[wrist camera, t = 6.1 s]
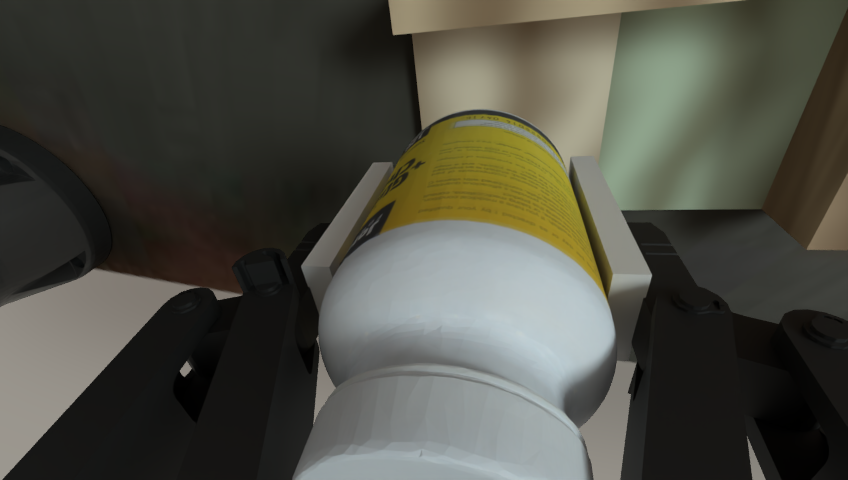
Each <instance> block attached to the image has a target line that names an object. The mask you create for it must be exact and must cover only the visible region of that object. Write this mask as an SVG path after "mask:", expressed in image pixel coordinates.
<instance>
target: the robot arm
mask: <svg viewBox="0 0 848 480" xmlns="http://www.w3.org/2000/svg"><path fill="white" fill-rule="evenodd" d="M392 172H393V165H392V162H383V163H373V164H372V165H371V167H370V168H369V170H368V171H367V173H366V174H365V175H364V177H363V178H362V180H361V181H360V183H359V184H358V185H357V187H356V188H355V190H354V191H353V193H352V194H351V195H350V197H349V198H348V200H347V201H346V203H345V204H344V205H343V207H342V208H341V210H340V211H339V213H338V214H337V215H336V217H335V218H334V220H333V221H332V222H331V223H321V224H319V225H318V226H316V227H315V228H313V229H312V230H310V231H309V232H308V233H307V234H306V236H305V237H304V238H303V240H302V243H300V244H299V245H298V246H297V248H296V251H293V253H292V254H291V255H290V257H289V258H288V259H287V258H286V256H285V253H284V252H283V251H281V250H280V249H275V248H264V249H260V250H256V251H253V252H251V253H249V254H247V255H244V256H243V257H242V258H240V259H239V260H238V261H236V262H235V264H234V265H233V267H232V269H233V272H234V274H235V276H236V278H237V280H238V282H239V284H240V286H241V288H242V291H243V295H242V296H238V297H233V298H228V299H223V300H217V299H216V297H215V295H214V293H213V291H211V290H210V289H209V288H194V289H189V290H187V291H183V292H181V293H179V294H178V295H176V296H174V297H172V298H171V299H170V300H168V301H167V302H166V303H165V304H164V305H163V306H162V307H161V308H160V309H159V310H158V311H157V312H156V313H155V314H154V316H153V317H152V318H151V319H150V320H149V321H148V322H147V323H146V324H145V325H144V326H143V327H142V329H141V330H140V331H139V332H138V333H137V334H136V335H135V336H134V337H133V338H132V339H131V340H130V342H129V343H128V344H127V345H126V346H125V347H124V348H123V349H122V350H121V351H120V353H119V354H118V355H117V356H116V357H115V358H114V359H113V360H112V361H111V362H110V363H109V364H108V365H107V367H106V368H105V369H104V370H103V371H102V372H101V373H100V374H99V375H98V376H97V377H96V379H95V380H94V381H93V382H92V383H91V384H90V385H89V386H88V387H87V388H86V389H85V391H84V392H83V393H82V394H81V395H80V396H79V397H78V398H77V399H76V400H75V402H74V403H73V404H72V405H71V406H70V407H69V408H68V409H67V410H66V411H65V412H64V413H63V414H62V415H61V417H60V418H59V419H58V420H57V421H56V422H55V423H54V424H53V425H52V426H51V427H50V428H49V430H48V431H47V432H46V433H45V434H44V435H43V436H42V437H41V438H40V439H39V440H38V442H37V443H36V444H35V445H34V446H33V447H32V448H31V449H30V450H29V451H28V453H26V455H25V456H24V457H23V458H22V459H21V460H20V461H19V462H18V463H17V464H16V465H15V467H14V468H13V469H12V470H11V471H10V472H9V473H8V474H7V475H6V476H5V477H4V478H3V480H292V478H293V475H294V473H295V470H296V468H297V465H298V463H299V460H300V458H301V455H302V453H303V450H304V448H305V445H306V443H307V440H308V438H309V435H310V433H311V430H312V428H313V420H314V409H315V397H316V386H317V374H318V363H319V346H318V343H317V340H316V338H317V336H318V326H319V315H320V310H321V305H322V301H323V299H324V296H325V293H326V291H327V288H328V286H329V284H330V282H331V280H332V278H333V277H334V275H335V273H336V271H337V269H338V267H339V265H340V263H341V261H342V260H343V258H344V257H345V255H346V253H347V251H348V249H349V248H350V246H351V245H352V243H353V241H354V239H355V237H356V236H357V234H358V233H359V231H360V229H361V227H362V226H363V224H364V222H365V220H366V219H367V217H368V215H369V213H370V212H371V210H372V208H373V206H374V205H375V203H376V201H377V199H378V197H379V195H380V194H381V192H382V190H383V188H384V186H385V185H386V183H387V181H388V179H389V177H390V176H391V174H392ZM568 176H569V180H570V183H571V186H572V189H573V192H574V195H575V198H576V201H577V204H578V207H579V210H580V213H581V216H582V220H583V223H584V226H585V229H586V233H587V236H588V239H589V242H590V245H591V249H592V252H593V255H594V258H595V261H596V265H597V268H598V272H599V275H600V278H601V282H602V285H603V288H604V291H605V294H606V297H607V301H608V304H609V307H610V310H611V314H612V318H613V322H614V326H615V332H616V340H617V360H619V361H628V359H629V355H630V352H631V348H632V346H633V349H634V352H635V355H636V358H637V360H638V361H637V364H636V368H635V371H634V374H633V377H632V381H631V384H630V387H629V391H628V393H629V394H631V399H630V407H629V415H628V423H627V431H626V439H625V447H624V455H623V463H622V471H621V480H752V473H751V465H750V458H749V449H748V441H747V436H748V439H749V441H750V443H751V446H752V448H753V450H754V453H755V455H756V458H757V460H758V462H759V465H760V467H761V469H762V472H763V474H764V476H765V479H766V480H848V321H846V320H844V319H842V318H839V317H837V316H833V315H831V314H828V313H825V312H819V311H814V310H793V311H790V312H788V313H785V314H784V316H783V318H782V319H781V321H780V323H779V324H776V323H772V322H767V321H763V320H759V319H755V318H750V317H746V316H743V315H739V314H736V313H733V312H731V310H730V308H729V306H728V304H727V303H726V302H725V301H724V300H723V299H722V298H721V297H719V296H718V295H716V294H715V293H713V292H711V291H709V290H707V289H705V288H701V287H698V286H697V285H696V283H695V281H694V280H693V278H692V277H691V275H690V273H689V272H688V270H687V268H686V267H685V265H684V264H683V262H682V260H681V259H680V257H679V256H678V255H677V252H676V251H675V249H674V248H673V246H671V243H670V241H669V239H668V238H667V236H666V235H665V233H664V232H663V231H661V230H660V229H659V228H657V227H656V226H654V225H653V224H651V223H626V221H625V219H624V217H623V215H622V213H621V211H620V209H619V207H618V205H617V202H616V200H615V198H614V196H613V194H612V192H611V190H610V188H609V186H608V184H607V182H606V180H605V178H604V176H603V174H602V172H601V170H600V168H599V166H598V164H597V162H596V160H595V158H594V156H575V157H570V166H569V175H568ZM111 243H112V240H111V232H110V228H109V225H108V222H107V219H106V217H105V215H104V213H103V211H102V209H101V207H100V206H99V204H98V202H97V201H96V199H95V198H94V196H93V195H92V194H91V192H90V191H89V190H88V188H87V187H86V186H85V185H84V184H83V183H82V181H81V180H80V179H79V178H78V177H77V176H76V175H75V174H74V173H73V172H72V171H71V170H70V169H69V168H68V167H67V166H66V165H65V164H63V163H62V162H61V161H60V160H59V159H58V158H56V157H55V156H54V155H52V154H51V153H50V152H49V151H47V150H46V149H44V148H43V147H41V146H40V145H38V144H37V143H35V142H34V141H32V140H30V139H29V138H27V137H25V136H23V135H21V134H19V133H17V132H15V131H13V130H11V129H8V128H6V127H3V126H0V307H1V306H3V305H5V304H7V303H10V302H14V301H16V300H19V299H22V298H25V297H28V296H30V295H33V294H36V293H39V292H42V291H45V290H48V289H51V288H53V287H56V286H59V285H62V284H65V283H68V282H71V281H73V280H76V279H78V278H80V277H82V276H84V275H86V274H87V273H88V272H90V271H91V270H93V269H94V268H95V267H97V266H98V265H100V264H101V263H102V262H104V260H105V259H106V258H107V257H108V255H109V253H110V250H111ZM186 361H187V362H188V363H189V365H190V366H191V368H192V369H191V371H190V372H189V373H188V374H187V375H186V376H185V377H184V376H182V375H181V373H180V370H181V368H182V367H183V365H184V364H185V363H186Z"/></svg>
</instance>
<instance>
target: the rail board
mask: <svg viewBox="0 0 848 480" xmlns="http://www.w3.org/2000/svg"><path fill="white" fill-rule="evenodd" d="M388 1H389V8H390V16H391V24H392V31H393V35H399V34H410V33H412V40H413V49H414V59H415V68H416V78H417V87H418V96H419V106H420V115H421V125H422V130H423V129H425V128H426V127H427V126H429V125H430V124H432V123H433V122H435V121H437V120H438V119H440V118H442V117H445V116H447V115H449V114H453V113H456V112H460V111H464V110H472V109H491V110H498V111H503V112H507V113H510V114H513V115H516V116H518V117H520V118H523V119H525V120H526V121H528V122H530V123H531V124H533V125H534V126H536V127H537V128H538V129H539V130H541V131H542V132H543V133H544V134H545V135H546V136H547V137H548V138H549V139H550V141H551V142H552V143H553V144H554V146H555V147H556V149H557V150H558V152H559V154H560V155H561V158H562V160H563V162H564V165H565V167H566V170H567V173H568V175H569V166H570V157H575V156H594V158H595V160H596V162H597V164H598V166H599V168H600V170H601V172H602V174H603V176H604V178H605V180H606V182H607V184H608V186H609V188H610V190H611V192H612V194H613V196H614V198H615V200H616V202H617V205H618V207H619V209H620V210H707V209H762V210H763V211H764V212H765V213H766V214H767V215H768V216H770V217H771V218H772V219H773V220H774V221H775V222H776V223H777V224H779V225H780V226H781V227H782V228H783V229H784V230H785V231H786V232H787V233H789V234H790V235H791V236H792V237H793V238H794V239H795V240H796V241H797V242H799V243H800V244H801V245H802V246H803V247H804V248H805V249H806V250H848V0H388Z"/></svg>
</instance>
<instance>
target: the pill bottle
mask: <svg viewBox="0 0 848 480" xmlns="http://www.w3.org/2000/svg"><path fill="white" fill-rule="evenodd" d="M318 335H319V345H320V351H321V355H322V359H323V362H324V365H325V367H326V370H327V372H328V374H329V377H330V378H331V380H332V382H333V384H334V385H335V387H336V389H335V390H334V391H333V393H332V394H331V395H330V396H329V398H328V399H327V401H326V402H325V405H324V406H323V407H322V408H321V410H320V411H319V413H318V415H317V417H316V420H315V423H314V425H313V428H312V430H311V433H310V435H309V438H308V440H307V443H306V445H305V448H304V450H303V453H302V455H301V458H300V460H299V463H298V465H297V468H296V470H295V473H294V475H293V478H292V480H593V473H592V466H591V461H590V459H589V456H588V453H587V448H586V445H585V441H584V439H583V437H582V435H581V433H580V431H579V429H578V428H580V427H581V426H582V425H583V424H584V423H586V422H587V421H588V419H590V417H591V416H592V415H593V414H594V413H595V412H596V410H597V409H598V408H599V406H600V405H601V403H602V402H603V400H604V399H605V397H606V395H607V393H608V391H609V388H610V386H611V383H612V380H613V376H614V373H615V368H616V361H617V340H616V332H615V326H614V322H613V318H612V314H611V310H610V307H609V304H608V301H607V297H606V294H605V291H604V288H603V285H602V282H601V278H600V275H599V272H598V268H597V265H596V261H595V258H594V255H593V252H592V249H591V245H590V242H589V239H588V236H587V233H586V229H585V226H584V223H583V220H582V216H581V213H580V210H579V207H578V204H577V201H576V198H575V195H574V192H573V189H572V186H571V183H570V180H569V176H568V173H567V170H566V167H565V165H564V162H563V160H562V158H561V155H560V154H559V152H558V150H557V149H556V147H555V146H554V144H553V143H552V142H551V141H550V139H549V138H548V137H547V136H546V135H545V134H544V133H543V132H542V131H541V130H539V129H538V128H537V127H536V126H534V125H533V124H531V123H530V122H528V121H526V120H525V119H523V118H520V117H518V116H516V115H513V114H510V113H507V112H503V111H498V110H491V109H472V110H464V111H460V112H456V113H453V114H449V115H447V116H445V117H442V118H440V119H438V120H437V121H435V122H433V123H432V124H430V125H429V126H427V127H426V128H425V129H423V130H422V131H421V132H420V133H419V134H418V135H417V136H416V137H415V138H414V139H413V140H412V141H411V142H410V144H409V145H408V146H407V147H406V149H405V151H404V152H403V154H402V156H401V157H400V159H399V161H398V163H397V165H396V167H395V169H394V170H393V172H392V174H391V176H390V177H389V179H388V181H387V183H386V185H385V186H384V188H383V190H382V192H381V194H380V195H379V197H378V199H377V201H376V203H375V205H374V206H373V208H372V210H371V212H370V213H369V215H368V217H367V219H366V220H365V222H364V224H363V226H362V227H361V229H360V231H359V233H358V234H357V236H356V237H355V239H354V241H353V243H352V245H351V246H350V248H349V249H348V251H347V253H346V255H345V257H344V258H343V260H342V261H341V263H340V265H339V267H338V269H337V271H336V273H335V275H334V277H333V278H332V280H331V282H330V284H329V286H328V288H327V291H326V293H325V296H324V299H323V301H322V305H321V310H320V315H319V326H318Z"/></svg>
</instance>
